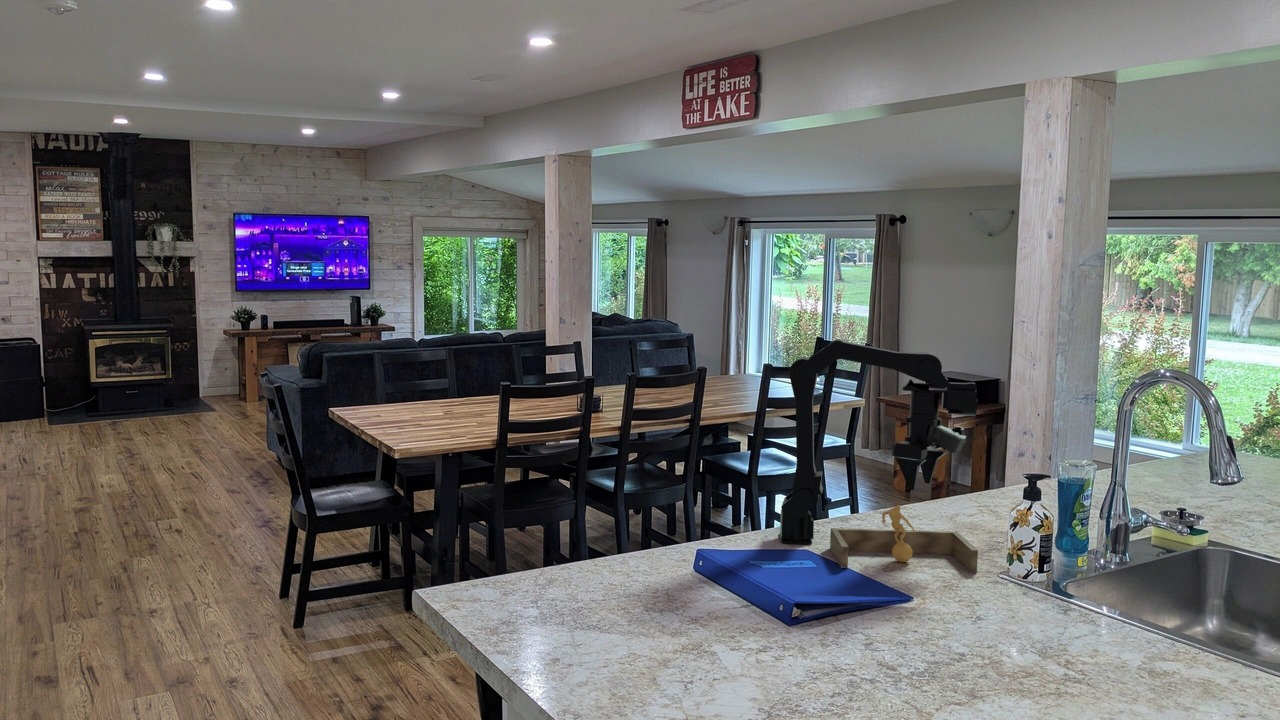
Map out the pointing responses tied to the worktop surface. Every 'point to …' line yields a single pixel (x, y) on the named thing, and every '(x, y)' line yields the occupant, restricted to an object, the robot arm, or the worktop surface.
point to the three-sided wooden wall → (918, 542)
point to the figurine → (901, 549)
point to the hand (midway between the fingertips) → (919, 486)
